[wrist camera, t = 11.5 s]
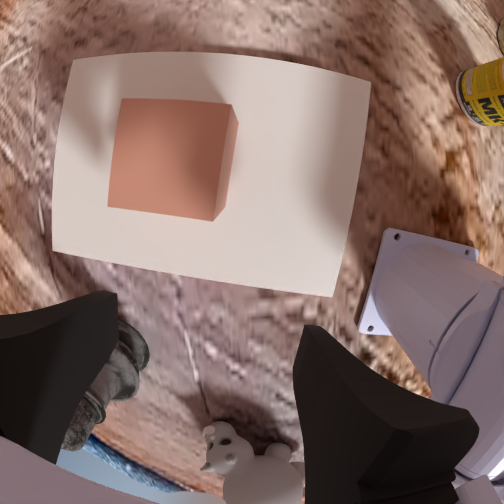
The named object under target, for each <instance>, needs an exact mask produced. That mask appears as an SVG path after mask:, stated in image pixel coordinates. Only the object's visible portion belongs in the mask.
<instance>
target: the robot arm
mask: <svg viewBox="0 0 504 504" xmlns="http://www.w3.org/2000/svg"><path fill="white" fill-rule="evenodd" d="M397 233H398V238H397V239H396V240H395V239H394V236H395V234H397ZM466 250H467V252H466V254H465V251H466ZM478 255H479V251H478V249H476V248H474V247H471V246H467V245H463V244H459V243H455V242H451V241H447V240H443V239H438V238H434V237H430V236H426V235H421V234H417V233H413V232H408V231H404V230H399V229H395V228H387V229H386V230H385V231H384V233H383V237H382V241H381V245H380V249H379V253H378V257H377V261H376V265H375V268H374V272H373V276H372V279H371V283H370V286H369V290H368V293H367V297H366V300H365V303H364V307H363V310H362V313H361V316H360V319H359V322H358V325H357V329H358V331H359V332H360V333H362V334H375V335H391V336H394V338H395V339H396V340H397V342H398V343H399V345H400V346H401V347H402V349H403V350H404V352H405V353H406V354H407V356H408V357H409V358H410V360H411V361H412V363H413V364H414V366H415V367H416V368H417V370H418V371H419V373H420V374H421V376H422V377H423V378H424V380H425V381H426V383H427V384H428V386H429V387H430V389H431V392H432V393H431V398H430V399H428V398H425V397H422V396H420V395H417V394H415V393H413V392H410V391H408V390H406V389H404V388H402V387H400V386H398V385H396V384H394V383H393V382H391V381H389V380H387V379H386V378H384V377H383V376H381V375H379V374H378V373H376V372H375V371H373V370H372V369H371V368H369V367H368V366H366V365H365V364H364V363H363V362H361V361H360V360H359V359H357V358H356V357H355V356H354V355H353V354H351V353H350V352H349V351H348V350H347V349H346V348H345V347H343V346H342V345H341V344H340V343H339V342H338V341H337V340H336V339H335V338H334V337H332V336H331V335H330V334H329V333H328V332H327V331H326V330H325V329H323V328H322V327H321V326H313V325H304V329H303V333H302V336H301V340H300V344H299V347H298V351H297V355H296V358H295V362H294V365H293V387H294V394H295V400H296V405H297V410H298V415H299V420H300V425H301V431H302V436H303V444H304V461H305V504H502V502H501V500H503V501H504V277H503V276H501V275H500V274H498V273H496V272H494V271H492V270H491V269H489V268H487V267H485V266H483V265H481V264H479V263H477V259H478ZM369 326H372V327H371V328H370V329H367V328H368V327H369ZM118 340H119V327H118V309H117V294H116V293H112V292H108V291H99V292H95V293H91V294H88V295H84V296H81V297H78V298H75V299H72V300H69V301H66V302H63V303H60V304H56V305H53V306H49V307H46V308H42V309H38V310H34V311H29V312H23V313H17V314H8V315H0V504H158V503H155V502H152V501H149V500H147V499H144V498H141V497H137V496H134V495H130V494H127V493H124V492H121V491H118V490H115V489H112V488H109V487H106V486H104V485H101V484H98V483H96V482H93V481H90V480H88V479H85V478H83V477H80V476H78V475H76V474H74V473H72V472H69V471H67V470H65V469H63V468H61V467H59V466H57V465H56V462H57V458H58V455H59V452H60V449H61V446H62V443H63V440H64V437H65V435H66V432H67V430H68V427H69V425H70V422H71V420H72V418H73V416H74V414H75V411H76V409H77V407H78V405H79V403H80V401H81V400H82V398H83V396H84V394H85V393H86V391H87V390H88V388H89V387H90V385H91V384H92V383H93V381H94V380H95V378H96V377H97V375H98V374H99V372H100V371H101V370H102V368H103V367H104V365H105V364H106V362H107V361H108V359H109V358H110V356H111V354H112V352H113V350H114V348H115V346H116V344H117V342H118ZM452 484H453V485H455V486H457V488H456V489H454V487H453V485H452ZM500 499H501V500H500Z"/></svg>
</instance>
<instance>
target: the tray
mask: <svg viewBox="0 0 504 504" xmlns="http://www.w3.org/2000/svg"><path fill="white" fill-rule="evenodd" d="M370 90H371V82H369V81H366V80H363V79H359V78H356V77H353V76H349V75H345V74H342V73H338V72H334V71H330V70H326V69H321V68H317V67H312V66H308V65H303V64H298V63H292V62H287V61H281V60H275V59H268V58H261V57H253V56H245V55H235V54H223V53H208V52H139V53H124V54H113V55H104V56H95V57H88V58H81V59H75V60H73V63H72V67H71V71H70V75H69V79H68V83H67V87H66V92H65V97H64V102H63V107H62V112H61V118H60V124H59V131H58V138H57V146H56V155H55V165H54V177H53V195H52V250H53V251H56V252H61V253H66V254H71V255H76V256H81V257H85V258H91V259H96V260H101V261H106V262H111V263H116V264H122V265H127V266H132V267H138V268H143V269H149V270H154V271H160V272H166V273H172V274H177V275H183V276H189V277H195V278H201V279H208V280H214V281H220V282H227V283H233V284H240V285H246V286H253V287H260V288H267V289H274V290H281V291H288V292H295V293H303V294H310V295H318V296H326V297H333V293H334V289H335V285H336V281H337V277H338V273H339V269H340V265H341V261H342V257H343V252H344V248H345V244H346V239H347V235H348V230H349V225H350V220H351V216H352V211H353V206H354V200H355V195H356V190H357V184H358V178H359V172H360V166H361V160H362V154H363V147H364V140H365V133H366V125H367V117H368V109H369V100H370ZM122 98H146V99H174V100H191V101H203V102H214V103H223V104H232V107H233V109H234V112H235V114H236V117H237V120H238V122H239V125H238V131H237V137H236V143H235V149H234V155H233V161H232V167H231V174H230V180H229V187H228V193H227V200H226V206H225V208H224V209H223V211H222V212H221V213H220V214H219V215H218V216H217V218H216V219H215V220H214V221H213V222H212V221H205V220H198V219H192V218H185V217H178V216H171V215H164V214H157V213H150V212H143V211H135V210H128V209H121V208H113V207H107V205H108V192H109V181H110V171H111V162H112V154H113V147H114V140H115V134H116V127H117V121H118V116H119V110H120V105H121V100H122Z"/></svg>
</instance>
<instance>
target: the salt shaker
mask: <svg viewBox="0 0 504 504" xmlns="http://www.w3.org/2000/svg"><path fill="white" fill-rule="evenodd" d="M118 327H119V340H118V342H117V344H116V346H115V348H114V350H113V352H112V354H111V356H110V358H109V359H108V361H107V362H106V364H105V365H104V367H103V368H102V370H101V371H100V372H99V374H98V375H97V377H96V378H95V380H94V381H93V383H92V384H91V385H90V387H89V388H88V390H87V391H86V393H85V394H84V396H83V398H82V400H81V401H80V403H79V405H78V407H77V409H76V411H75V414H74V416H73V418H72V420H71V422H70V425H69V427H68V430H67V432H66V435H65V437H64V440H63V443H62V446H61V449H65V450H68V451H77V450H80V449H81V448H82V447H83V446H84V444H85V442H86V441H87V439H88V437H89V435H90V433H91V431H92V430H93V428H94V426H95V424H99V423H102V422H103V421H104V420H105V418H106V412H105V409H106V407H107V405H108V403H109V402H110V400H113V401H126V400H129V399H131V398H133V397H134V396H135V395H136V394H137V391H138V389H139V371H142V370H143V369H144V368H145V367H146V366H147V363H148V361H149V355H150V354H149V349H148V346H147V344H146V342H145V340H144V339H143V337H142V336H141V335H140V333H139V332H137V331H136V330H135V329H134V328H133V327H131V326H130V325H128V324H126V323H124V322H121V321H118Z"/></svg>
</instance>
